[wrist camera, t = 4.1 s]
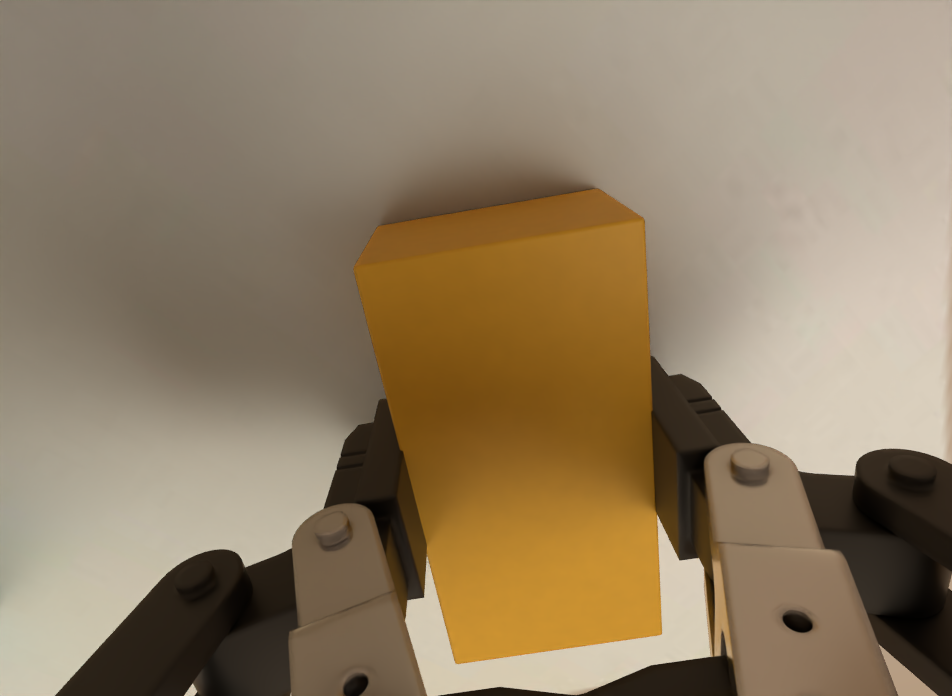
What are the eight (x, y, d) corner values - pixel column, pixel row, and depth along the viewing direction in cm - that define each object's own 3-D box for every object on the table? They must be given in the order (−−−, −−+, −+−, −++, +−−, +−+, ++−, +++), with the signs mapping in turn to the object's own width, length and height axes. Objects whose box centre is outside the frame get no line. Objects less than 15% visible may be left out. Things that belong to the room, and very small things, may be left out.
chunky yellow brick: (599, 187, 11) (645, 217, 9) (624, 536, 15) (663, 635, 12) (376, 225, 11) (351, 266, 9) (455, 562, 15) (455, 665, 12)
